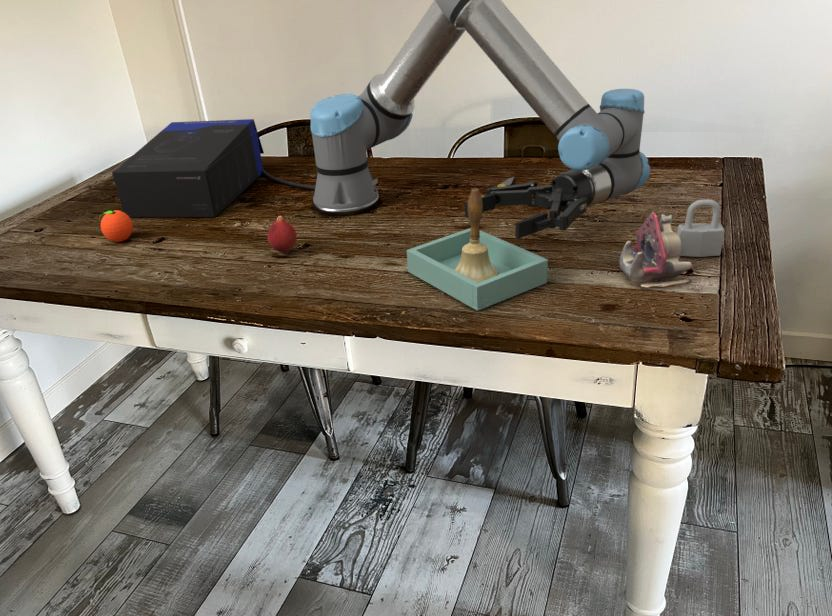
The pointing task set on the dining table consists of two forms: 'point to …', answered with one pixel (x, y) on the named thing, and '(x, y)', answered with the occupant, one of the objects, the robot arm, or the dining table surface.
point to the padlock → (701, 232)
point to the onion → (282, 235)
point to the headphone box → (190, 169)
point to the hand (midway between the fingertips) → (490, 220)
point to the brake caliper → (654, 254)
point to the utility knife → (504, 184)
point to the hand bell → (475, 245)
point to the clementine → (116, 225)
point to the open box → (438, 270)
